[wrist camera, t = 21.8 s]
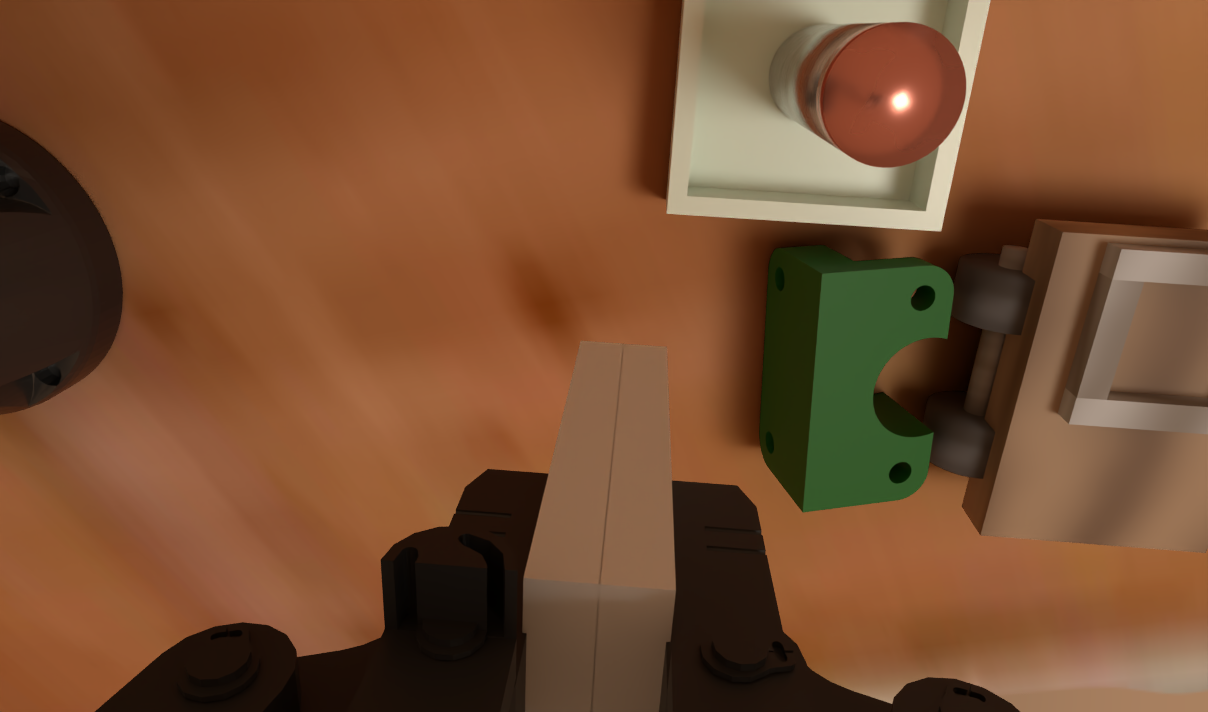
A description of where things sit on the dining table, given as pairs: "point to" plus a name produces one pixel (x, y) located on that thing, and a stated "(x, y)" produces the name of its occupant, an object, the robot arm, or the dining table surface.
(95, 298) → the robot arm
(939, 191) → the tray
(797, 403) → the clamp
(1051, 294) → the trolley
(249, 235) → the dining table surface
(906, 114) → the pin
